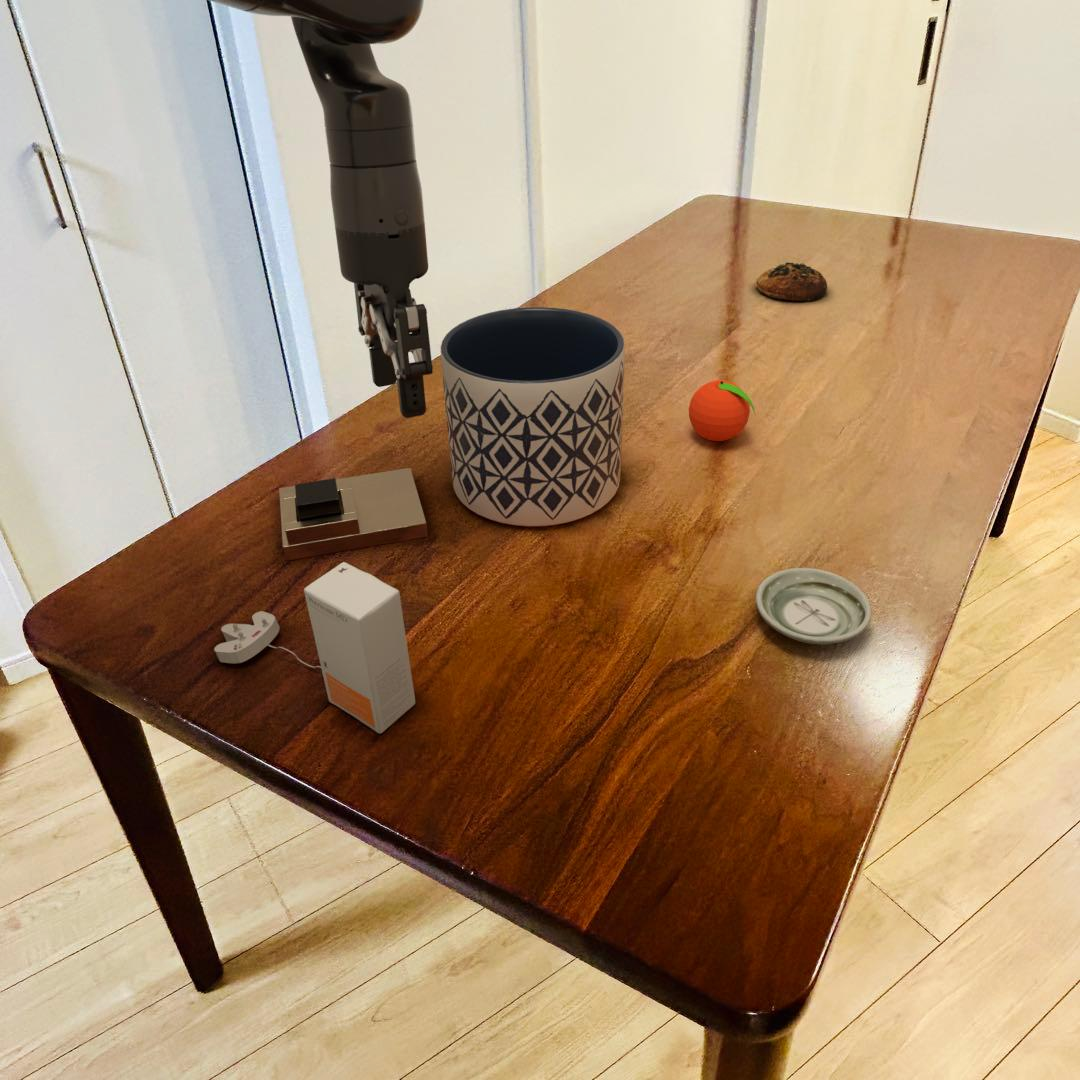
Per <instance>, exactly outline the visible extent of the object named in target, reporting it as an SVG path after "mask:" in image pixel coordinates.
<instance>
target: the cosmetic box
mask: <svg viewBox="0 0 1080 1080" xmlns="http://www.w3.org/2000/svg"><path fill="white" fill-rule="evenodd" d="M303 593H304V597H305V602H306V607H307V610H308V615H309V620H310V623H311V628H312V633H313V637H314V642H315V646H316V649H317V650H316V651H317V656H318V660H319V665H320V667H321V668H320V669H321V672H322V677H323V681H324V687H325V692H326V696H327V700H328V702H329V703H330V704H332V705H334V706H336V707H338V708H339V709H340V710H342V711H344V712H345V713H347V714H349V715H351V717H353V718H355V719H357V720H358V721H359V722H361V723H362V724H364V725H366V726H367V727H368V728H370V729H371V730H373V731H374V732H376V733H377V734H379V735H380V734H382V733H384V732H385V731H386V730H387V729H388V728H389V727H391V726H392V725H393V724H394V723H395V722H396V721H398V719H400V717H402V716H403V715H405V713H407V712H408V711H409V710H411V709H412V707H414V706H415V705H416V696H415V688H414V682H413V675H412V668H411V662H410V656H409V649H408V642H407V635H406V628H405V621H404V615H403V607H402V601H401V593H400V590H398V589H397V588H395V587H394V586H391V585H389V584H387V583H386V582H384V581H382V580H380V579H379V578H377V576H374V575H373V574H370V573H369V572H366V571H363V570H361V569H359V568H357V567H355V566H353V565H351V564H349V563H347V562H345V561H343V562H340V563H339V564H338V565H336V566H335V567H333V568H332V569H330V570H329V571H328V572H326V573H324V574H323V575H322V576H320V577H319V578H317V579H315V580H314V581H312V582H311V583H310V584H309V585H307V586H306V587H305V588H303Z"/></svg>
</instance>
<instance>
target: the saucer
mask: <svg viewBox="0 0 1080 1080" xmlns="http://www.w3.org/2000/svg"><path fill="white" fill-rule="evenodd" d="M755 605H756V609H757V611H758V613H759V615H760V616H761V618H762V619H763V620H764V622H765V623H766V624H768V625H769V626H770V627H771V628H772V629H774V630H775V631H776V632H778V633H780V634H782V636H786V637H787V638H789V639H792V640H794V641H797V642H800V643H805V644H810V645H832V644H840V643H844V642H847V641H850V640H852V639H854V638H856V637H858V636H859V635H861V634H862V633H863V632H865V631H866V629H867V627H868V626H869V625H870V622H871V620H872V616H873V615H872V614H873V613H872V611H873V609H872V606H871V603H870V601H869V599H868V597H867V595H866V594H865V593H864V592H863V590H862V589H860V588H859V587H858V586H857V585H856V584H855V583H853V582H852V581H850V580H848V579H847V578H846V577H844V576H840V575H839V574H836V573H833V572H831V571H828V570H825V569H824V570H823V569H818V568H812V567H793V568H786V569H782V570H779V571H776V572H774V573H772V574H770V575H769V576H767V577H766V578H764V580H762V581H761V582H760V584H759V585H758V586H757V588H756V592H755Z"/></svg>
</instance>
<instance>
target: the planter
mask: <svg viewBox="0 0 1080 1080" xmlns="http://www.w3.org/2000/svg"><path fill="white" fill-rule="evenodd" d="M625 348H626V347H625V339H624V337H623V335H622V333H621V331H620V330H618V328H616V326H615V325H613V324H611V323H610V322H609V321H607V320H605V319H603V318H601V317H598V316H597V315H596V316H595V315H593V314H590V313H587V312H583V311H579V310H573V309H566V308H559V307H545V306H535V307H532V306H531V307H529V306H528V307H515V308H507V309H501V310H495V311H491V312H487V313H483V314H480V315H477V316H474V317H472V318H469V319H467V320H465V321H462V322H461V323H459V324H457V325H455V326H454V327H453V328H452V329H450V331H448V332H447V333H446V334H445V336H444V337H443V339H442V341H441V344H440V349H439V350H440V361H441V371H442V383H443V384H442V385H443V394H444V395H443V396H444V405H445V406H444V407H445V416H446V427H447V437H448V448H449V460H450V470H451V478H452V487H453V490H454V493H455V495H456V497H457V498H458V500H459V501H460V502H461V503H462V504H463V505H464V506H465V507H466V508H468V509H469V510H470V511H472V513H473V512H474V513H475V514H477V515H478V516H481V517H483V518H485V519H488V520H491V521H494V522H497V523H501V524H505V525H506V524H507V525H512V526H518V527H519V526H520V527H548V526H555V525H556V526H557V525H561V524H566V523H570V522H573V521H577V520H580V519H583V518H585V517H587V516H590V515H592V514H593V513H595V512H597V511H599V510H600V509H602V508H603V507H605V506H606V505H607V504H608V503H609V502H610V501H611V500H612V499H613V497H614V496H615V495H616V493H617V491H618V490H619V487H620V483H621V482H620V481H621V465H622V441H623V440H622V439H623V413H624V412H623V411H624V386H625V385H624V382H625Z"/></svg>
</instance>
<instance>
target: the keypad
mask: <svg viewBox="0 0 1080 1080" xmlns="http://www.w3.org/2000/svg"><path fill="white" fill-rule="evenodd" d="M335 479H336V484H337V490H338V495H339V501H340V508H341V514H342V515H337V516H331V517H325V518H319V519H313V520H307V521H301V522H300V519H299V514H298V510H297V504H296V492H295V485H290V486H285V487H279V488H278V491H279V492H278V494H279V507H280V522H281V523H280V525H281V540H282V551H283V553H284V554H283V555H284V558H285V561H286V562H289V561H294V560H300V559H305V558H311V557H316V556H322V555H329V554H334V553H340V552H346V551H351V550H357V549H364V548H369V547H374V546H381V545H388V544H392V543H393V544H394V543H399V542H404V541H409V540H410V541H411V540H417V539H423V538H428V537H429V533H428V523H427V520H426V517H425V516H426V515H425V514H424V509H423V506H422V503H421V500H420V495H419V493H418V489H417V486H416V484H415V479H414V475H413V472H412V468H411V467H406V468H399V469H392V470H388V471H380V472H375V473H367V474H362V475H356V476H348V477H342V478H335Z"/></svg>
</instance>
